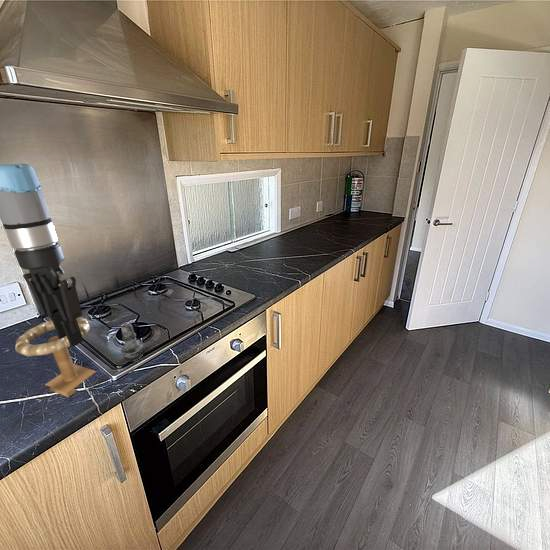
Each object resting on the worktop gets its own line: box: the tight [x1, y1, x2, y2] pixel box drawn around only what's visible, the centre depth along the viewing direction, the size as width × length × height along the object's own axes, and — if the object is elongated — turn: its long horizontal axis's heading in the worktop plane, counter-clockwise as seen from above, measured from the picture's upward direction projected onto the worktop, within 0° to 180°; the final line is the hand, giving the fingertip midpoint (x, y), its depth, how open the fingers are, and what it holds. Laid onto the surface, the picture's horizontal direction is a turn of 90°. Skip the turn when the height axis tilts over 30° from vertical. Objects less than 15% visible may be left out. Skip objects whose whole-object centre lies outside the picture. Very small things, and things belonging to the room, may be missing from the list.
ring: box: [15, 317, 91, 357], centre depth 70 cm, size 14×14×2 cm
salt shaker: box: [120, 321, 144, 362], centre depth 82 cm, size 6×6×12 cm
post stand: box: [44, 335, 97, 398], centre depth 73 cm, size 8×8×14 cm
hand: (72, 342), depth 68 cm, fingers closed on ring, 2 cm apart
